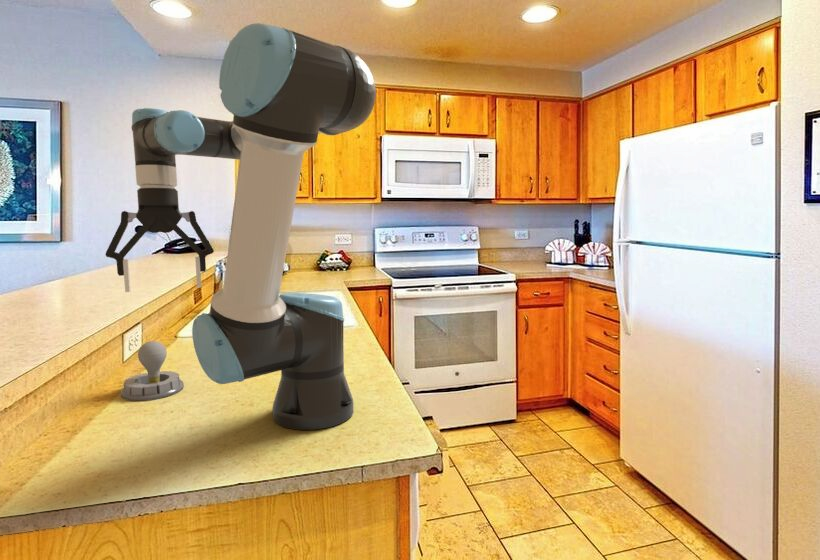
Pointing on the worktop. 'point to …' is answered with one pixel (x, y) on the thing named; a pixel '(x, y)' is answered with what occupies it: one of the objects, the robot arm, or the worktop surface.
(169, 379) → the socket
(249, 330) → the robot arm
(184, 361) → the worktop surface
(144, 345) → the light bulb
